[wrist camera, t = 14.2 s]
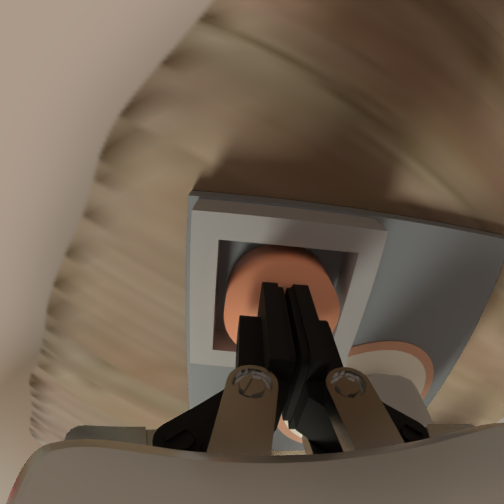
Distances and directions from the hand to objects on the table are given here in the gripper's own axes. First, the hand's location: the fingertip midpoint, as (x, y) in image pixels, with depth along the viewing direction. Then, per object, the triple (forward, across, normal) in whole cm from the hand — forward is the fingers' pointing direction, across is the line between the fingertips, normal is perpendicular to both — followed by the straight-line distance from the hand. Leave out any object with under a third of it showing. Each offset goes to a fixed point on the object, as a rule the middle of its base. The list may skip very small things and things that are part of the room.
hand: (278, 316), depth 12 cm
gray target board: (+3, -5, +5) cm, 8 cm away
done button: (+2, 0, 0) cm, 2 cm away
